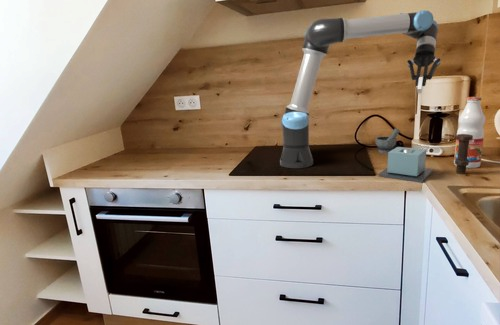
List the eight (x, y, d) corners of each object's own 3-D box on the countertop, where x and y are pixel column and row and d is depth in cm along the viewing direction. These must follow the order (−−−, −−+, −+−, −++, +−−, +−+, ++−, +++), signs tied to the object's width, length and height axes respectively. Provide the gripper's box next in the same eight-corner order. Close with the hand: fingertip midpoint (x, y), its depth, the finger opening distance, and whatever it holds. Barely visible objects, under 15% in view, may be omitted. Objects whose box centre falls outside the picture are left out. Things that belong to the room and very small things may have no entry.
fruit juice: (480, 163, 145) (488, 96, 138) (480, 169, 138) (488, 98, 131) (454, 161, 150) (460, 96, 143) (452, 167, 143) (459, 98, 136)
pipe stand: (378, 176, 136) (379, 151, 134) (392, 166, 148) (393, 143, 145) (422, 182, 126) (424, 156, 124) (433, 171, 138) (435, 147, 135)
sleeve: (387, 172, 136) (388, 152, 134) (396, 165, 144) (397, 146, 142) (417, 176, 129) (418, 155, 127) (425, 169, 137) (426, 149, 135)
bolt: (454, 170, 138) (458, 133, 134) (469, 172, 135) (473, 134, 131) (451, 174, 134) (455, 136, 130) (466, 176, 131) (471, 137, 127)
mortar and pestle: (373, 153, 172) (374, 129, 169) (376, 149, 180) (377, 126, 177) (397, 154, 167) (399, 130, 164) (399, 150, 175) (401, 127, 172)
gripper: (442, 54, 151) (437, 97, 141) (409, 57, 158) (402, 97, 148) (442, 41, 145) (437, 84, 136) (408, 44, 152) (401, 85, 142)
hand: (419, 91), depth 142 cm, fingers closed
